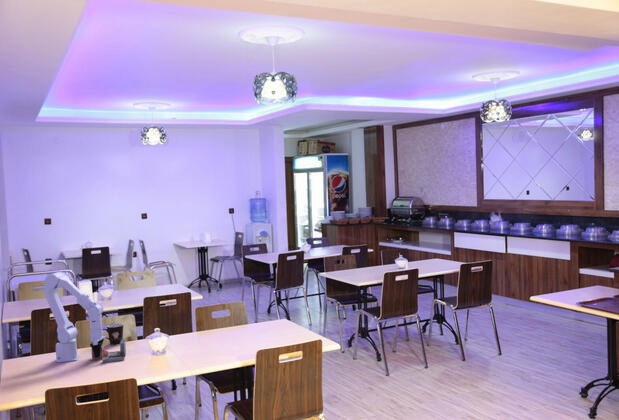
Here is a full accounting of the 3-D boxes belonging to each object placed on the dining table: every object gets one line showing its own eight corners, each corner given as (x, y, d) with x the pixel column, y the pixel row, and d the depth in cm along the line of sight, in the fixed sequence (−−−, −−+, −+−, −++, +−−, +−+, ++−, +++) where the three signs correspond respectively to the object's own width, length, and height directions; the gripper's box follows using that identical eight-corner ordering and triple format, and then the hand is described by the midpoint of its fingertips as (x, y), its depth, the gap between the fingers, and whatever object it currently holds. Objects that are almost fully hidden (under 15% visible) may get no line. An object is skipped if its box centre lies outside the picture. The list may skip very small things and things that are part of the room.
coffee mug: (127, 341, 315) (126, 323, 314) (120, 345, 306) (119, 327, 306) (107, 341, 316) (105, 323, 315) (99, 345, 307) (98, 327, 307)
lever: (102, 359, 275) (101, 351, 275) (102, 358, 278) (102, 349, 278) (108, 359, 276) (108, 350, 276) (109, 357, 278) (108, 349, 278)
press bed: (102, 362, 275) (101, 348, 275) (105, 354, 289) (104, 341, 289) (124, 360, 278) (123, 346, 278) (126, 352, 291) (125, 339, 291)
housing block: (92, 360, 280) (91, 348, 280) (93, 357, 285) (92, 345, 285) (102, 359, 282) (102, 347, 281) (103, 356, 287) (103, 344, 286)
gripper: (103, 331, 277) (104, 358, 277) (106, 324, 291) (107, 350, 291) (87, 332, 275) (89, 360, 276) (91, 326, 289) (93, 352, 290)
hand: (98, 355), depth 283 cm, fingers closed on housing block, 5 cm apart
